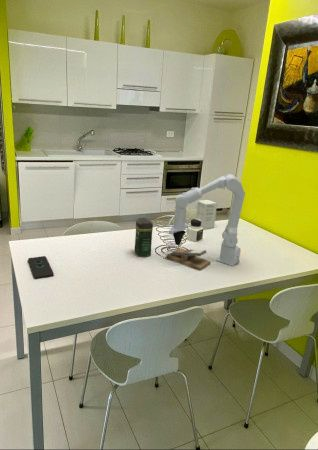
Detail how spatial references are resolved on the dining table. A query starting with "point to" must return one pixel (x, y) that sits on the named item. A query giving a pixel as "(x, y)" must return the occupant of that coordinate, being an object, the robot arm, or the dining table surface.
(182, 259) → the switch base
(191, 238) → the medicine bottle
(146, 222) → the coffee jar
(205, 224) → the supplement box
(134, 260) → the dining table surface
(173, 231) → the robot arm
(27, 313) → the dining table surface
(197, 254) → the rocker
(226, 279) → the dining table surface
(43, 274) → the smart home device
